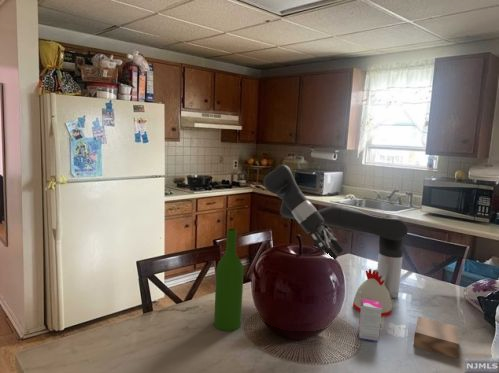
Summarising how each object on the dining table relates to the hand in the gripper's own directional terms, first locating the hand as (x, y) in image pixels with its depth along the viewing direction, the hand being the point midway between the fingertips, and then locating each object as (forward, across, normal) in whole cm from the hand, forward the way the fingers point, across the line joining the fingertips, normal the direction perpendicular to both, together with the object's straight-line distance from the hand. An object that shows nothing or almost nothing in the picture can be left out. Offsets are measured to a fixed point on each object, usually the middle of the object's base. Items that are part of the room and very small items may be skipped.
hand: (338, 255), depth 122 cm
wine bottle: (-4, +18, -40) cm, 44 cm away
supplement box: (+26, 0, -9) cm, 28 cm away
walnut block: (+40, -8, +4) cm, 41 cm away
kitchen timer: (+25, -22, -11) cm, 35 cm away
